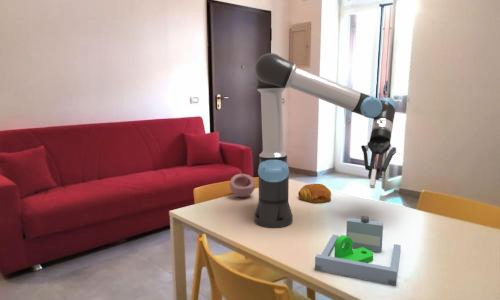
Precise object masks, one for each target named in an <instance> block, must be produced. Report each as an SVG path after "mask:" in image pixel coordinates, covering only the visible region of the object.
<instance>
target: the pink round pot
mask: <svg viewBox="0 0 500 300" xmlns="http://www.w3.org/2000/svg"><path fill="white" fill-rule="evenodd" d="M229 180H230V181H229V189H230V191H231V192H232V194H233V195H234V196H236V197H238V198H247V197H248V196H250V195H252V194H253V192H254V191H255V186H256V183H255V182H256V181H255V179H254V178H253V177H252V175H250V174H245V173H238V174H235V175H233V176H232V177H231V178H230V179H229Z"/></svg>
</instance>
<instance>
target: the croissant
mask: <svg viewBox="0 0 500 300" xmlns="http://www.w3.org/2000/svg"><path fill="white" fill-rule="evenodd" d="M297 194H298V197H299V199H300V200H302V201H305V202H308V201H309V202H308V203H310V204H312V203H313V204H319V203H320V204H321V203H322V204H323V202H324V203H327V202H330V201H332V199H331V198H332V197H331V196H332V192H331V190H330V189H329V188H328V187H327V186H325V185H324V184H322V183H310V184H304V185H303V186H302V187H301V188H300V190H298V193H297Z"/></svg>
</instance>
